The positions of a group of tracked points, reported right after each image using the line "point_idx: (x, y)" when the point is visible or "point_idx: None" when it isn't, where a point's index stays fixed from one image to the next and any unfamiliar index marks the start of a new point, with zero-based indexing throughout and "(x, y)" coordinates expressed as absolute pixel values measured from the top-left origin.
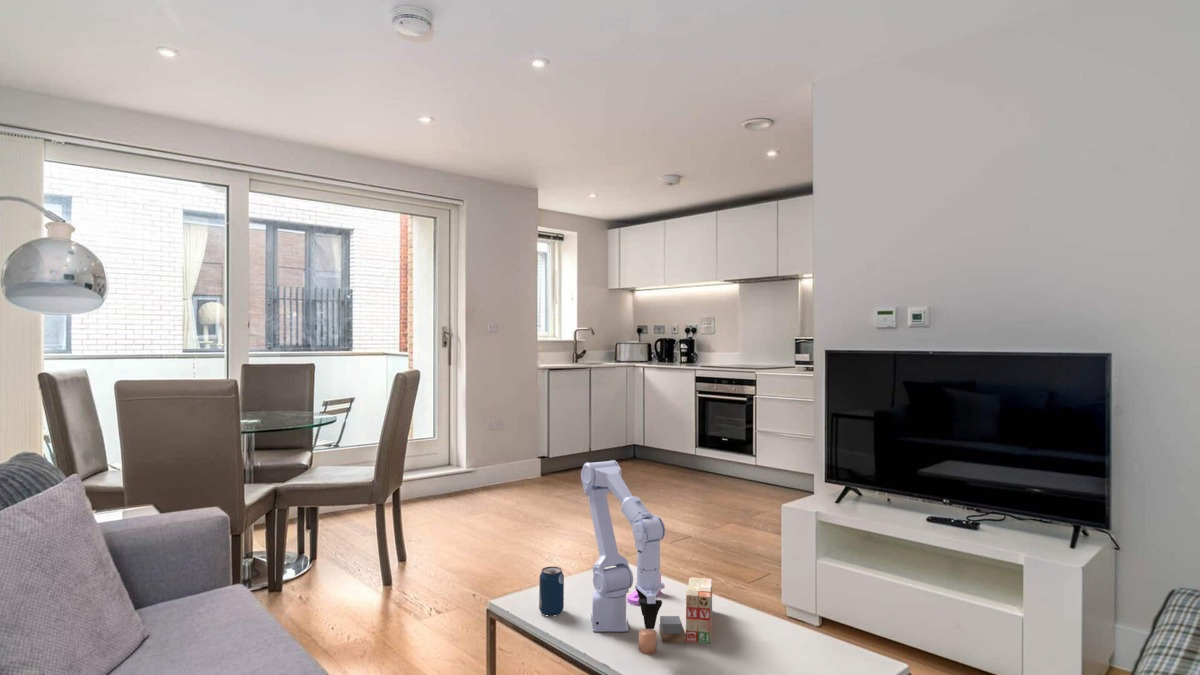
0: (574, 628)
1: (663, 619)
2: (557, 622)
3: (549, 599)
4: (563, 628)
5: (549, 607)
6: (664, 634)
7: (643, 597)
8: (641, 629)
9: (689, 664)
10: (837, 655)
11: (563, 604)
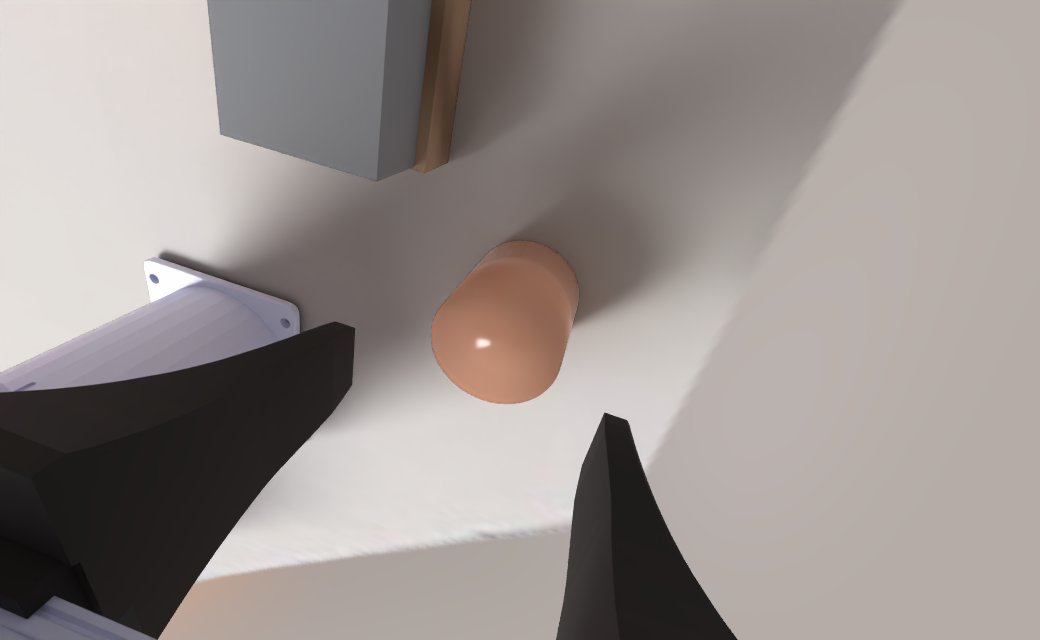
0: (269, 485)
1: (286, 132)
2: None
3: None
4: (271, 514)
5: None
6: (424, 154)
7: (222, 500)
8: (444, 368)
9: (831, 93)
10: None
11: None
